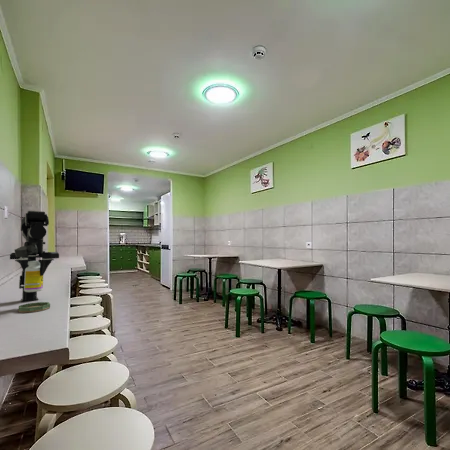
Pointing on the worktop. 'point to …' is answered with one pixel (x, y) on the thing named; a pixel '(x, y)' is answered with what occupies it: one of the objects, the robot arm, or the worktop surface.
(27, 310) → the coaster ring
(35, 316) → the worktop surface
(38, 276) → the supplement bottle
